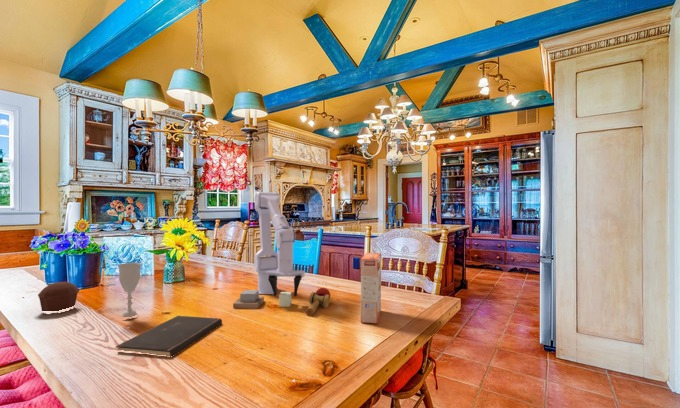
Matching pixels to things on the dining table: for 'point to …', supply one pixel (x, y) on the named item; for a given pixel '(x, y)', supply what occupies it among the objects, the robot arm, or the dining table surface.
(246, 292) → the slate cube
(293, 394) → the dining table surface
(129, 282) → the chalice
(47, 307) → the muffin
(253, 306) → the walnut slab
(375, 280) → the cracker box
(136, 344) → the hardcover book
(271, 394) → the dining table surface
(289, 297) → the sage block
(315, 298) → the kendama
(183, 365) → the dining table surface
